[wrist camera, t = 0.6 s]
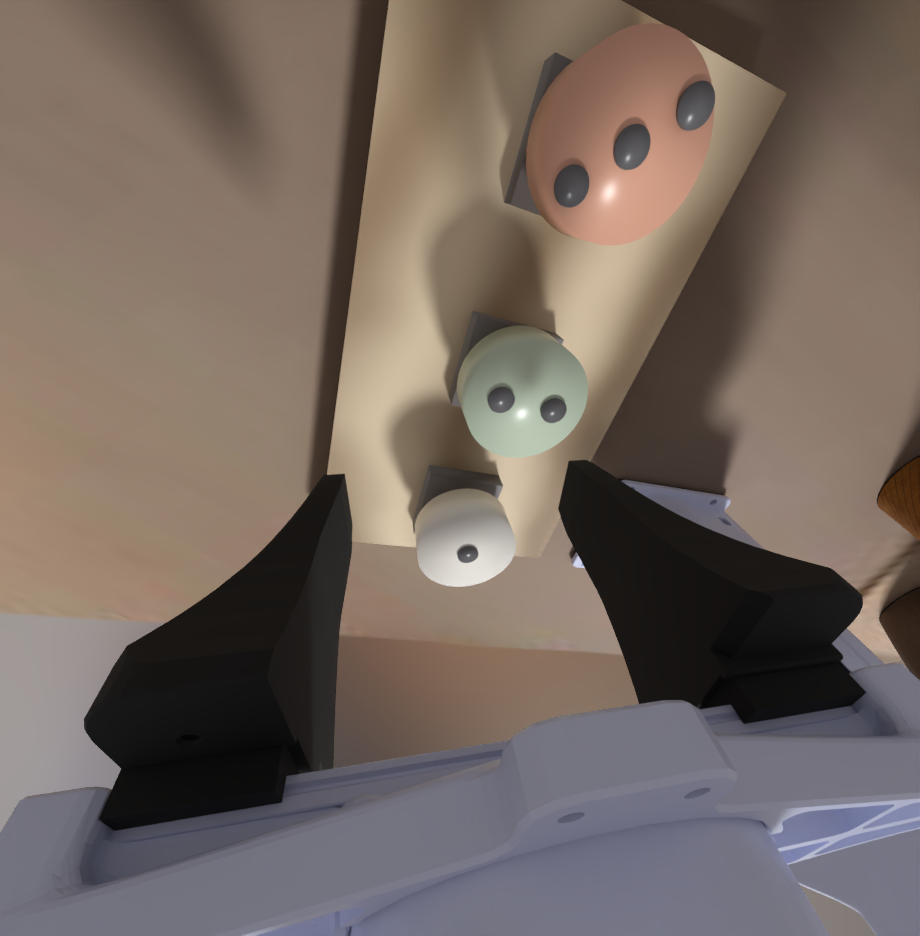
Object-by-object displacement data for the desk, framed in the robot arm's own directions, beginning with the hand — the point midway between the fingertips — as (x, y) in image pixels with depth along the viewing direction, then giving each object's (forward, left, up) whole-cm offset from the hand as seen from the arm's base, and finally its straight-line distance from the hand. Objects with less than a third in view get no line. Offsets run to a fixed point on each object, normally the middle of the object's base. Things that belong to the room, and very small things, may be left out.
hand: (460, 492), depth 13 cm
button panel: (-3, -2, -9) cm, 10 cm away
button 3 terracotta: (-3, -10, -5) cm, 12 cm away
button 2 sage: (-3, -2, -5) cm, 6 cm away
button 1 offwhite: (-3, +6, -5) cm, 8 cm away
